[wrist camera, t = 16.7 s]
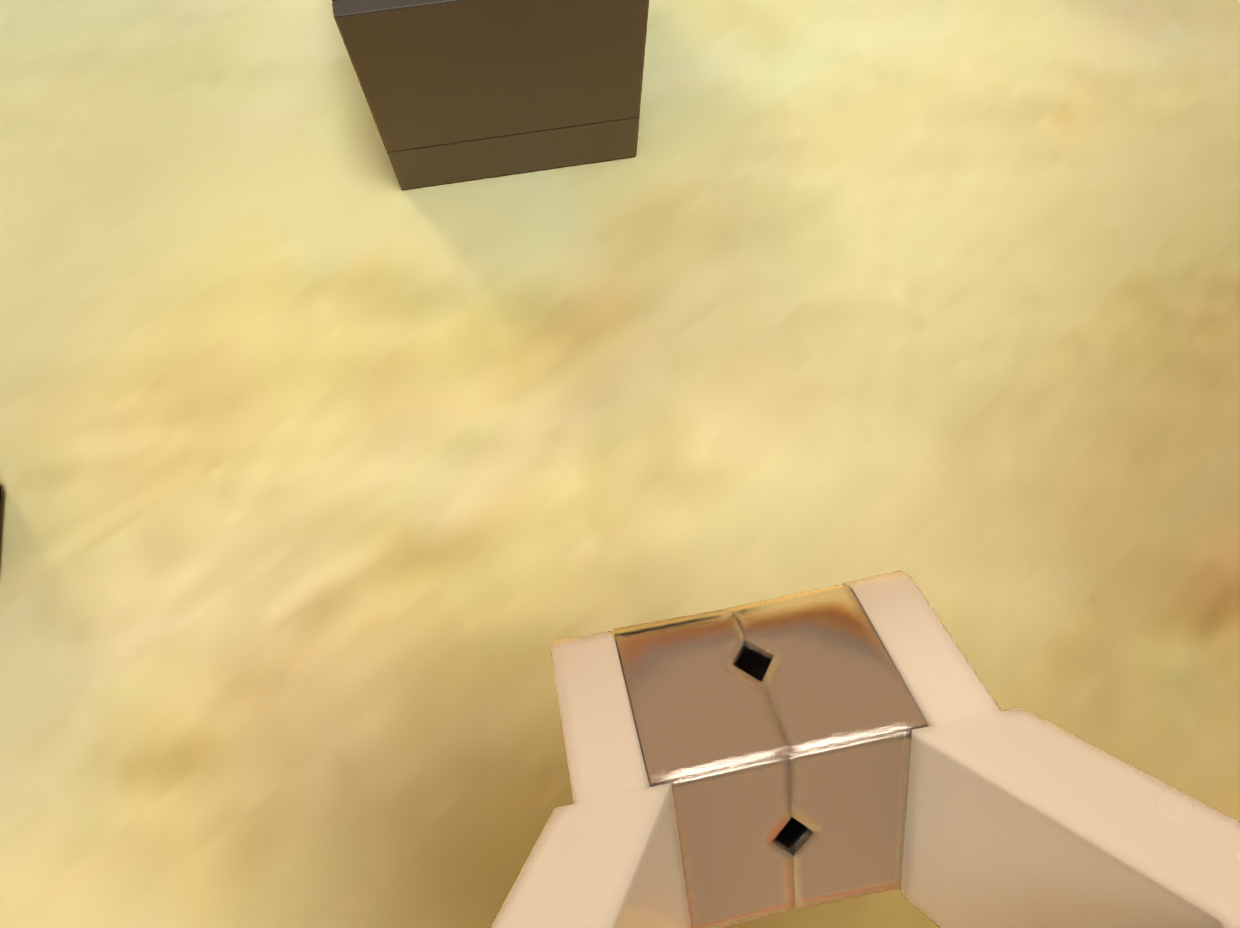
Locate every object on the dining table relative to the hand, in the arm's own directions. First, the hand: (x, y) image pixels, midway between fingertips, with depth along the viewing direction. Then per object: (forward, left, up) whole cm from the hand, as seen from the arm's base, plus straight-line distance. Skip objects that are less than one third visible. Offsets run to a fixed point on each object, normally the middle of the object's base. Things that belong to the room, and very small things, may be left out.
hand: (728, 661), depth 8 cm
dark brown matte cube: (-17, -12, -24) cm, 32 cm away
